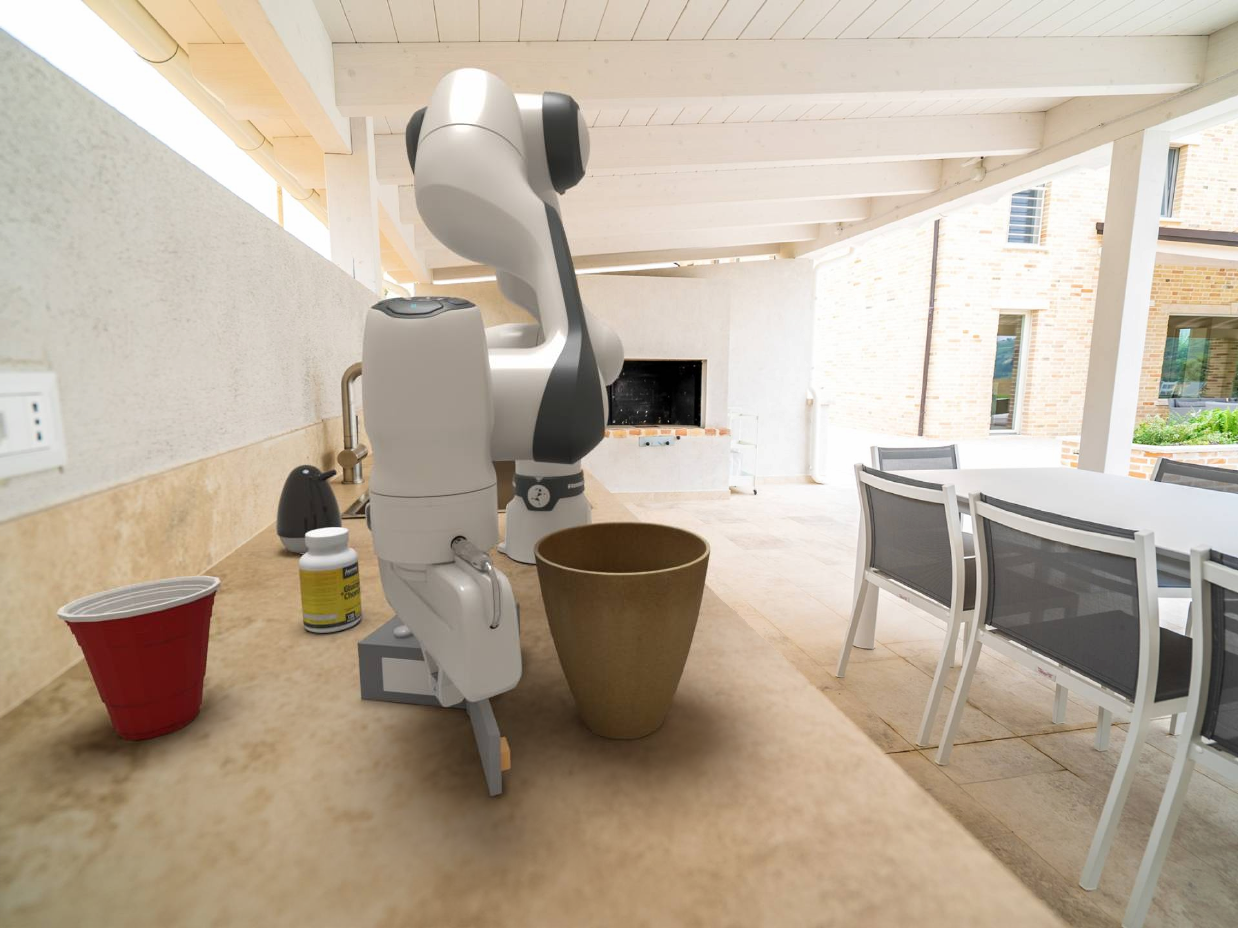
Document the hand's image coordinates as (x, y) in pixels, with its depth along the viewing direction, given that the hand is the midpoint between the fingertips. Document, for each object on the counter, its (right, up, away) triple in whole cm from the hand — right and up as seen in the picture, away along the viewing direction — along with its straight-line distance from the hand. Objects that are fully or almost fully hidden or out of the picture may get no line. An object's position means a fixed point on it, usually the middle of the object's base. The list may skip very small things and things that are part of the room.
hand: (446, 696), depth 45 cm
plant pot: (+14, -5, +7) cm, 16 cm away
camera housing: (-4, -3, +15) cm, 16 cm away
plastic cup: (-27, -5, +6) cm, 28 cm away
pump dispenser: (-41, +3, +58) cm, 71 cm away
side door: (+3, -5, +2) cm, 6 cm away
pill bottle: (-22, -2, +26) cm, 34 cm away
